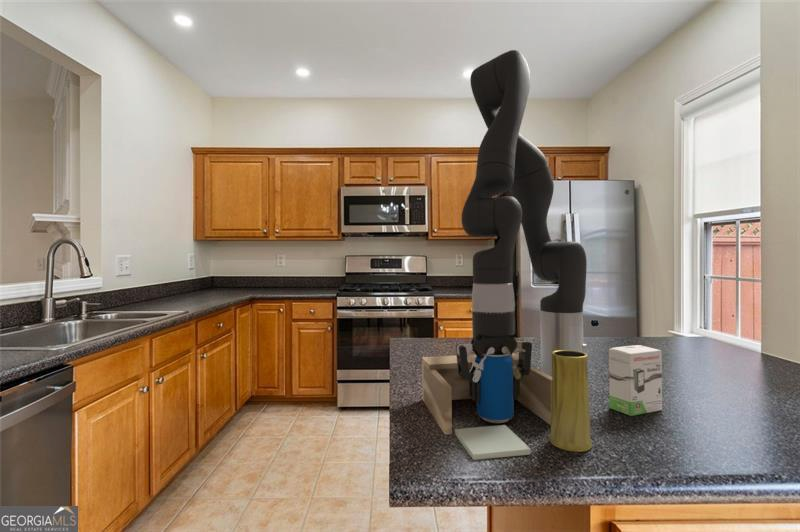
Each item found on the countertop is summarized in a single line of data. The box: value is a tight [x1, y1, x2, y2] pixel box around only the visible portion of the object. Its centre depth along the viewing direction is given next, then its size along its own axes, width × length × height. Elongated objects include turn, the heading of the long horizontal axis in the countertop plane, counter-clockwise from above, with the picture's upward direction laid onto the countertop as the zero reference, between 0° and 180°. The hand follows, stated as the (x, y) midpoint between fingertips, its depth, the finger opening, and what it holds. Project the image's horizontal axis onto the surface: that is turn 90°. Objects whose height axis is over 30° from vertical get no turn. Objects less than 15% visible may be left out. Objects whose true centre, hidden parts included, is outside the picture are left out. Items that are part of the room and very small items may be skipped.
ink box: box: [608, 344, 663, 417], centre depth 77 cm, size 9×5×12 cm, turn 110°
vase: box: [549, 350, 593, 453], centre depth 63 cm, size 6×6×14 cm
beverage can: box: [476, 354, 515, 424], centre depth 72 cm, size 6×6×12 cm
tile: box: [454, 424, 532, 461], centre depth 63 cm, size 9×9×1 cm
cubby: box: [421, 352, 552, 436], centre depth 77 cm, size 20×17×9 cm
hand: (494, 399), depth 72 cm, fingers closed on beverage can, 6 cm apart
